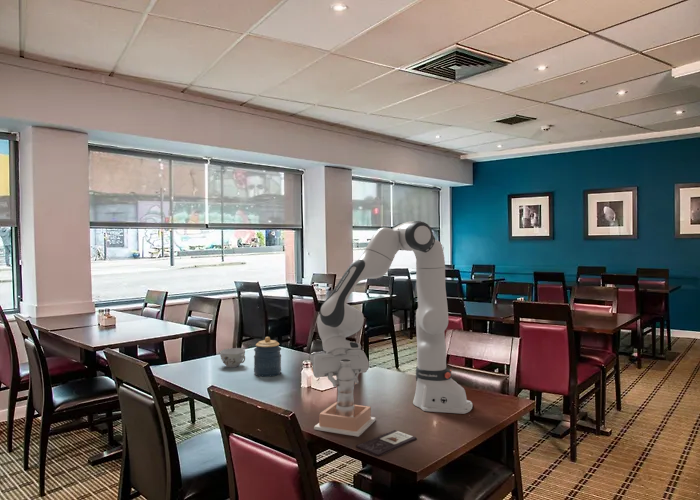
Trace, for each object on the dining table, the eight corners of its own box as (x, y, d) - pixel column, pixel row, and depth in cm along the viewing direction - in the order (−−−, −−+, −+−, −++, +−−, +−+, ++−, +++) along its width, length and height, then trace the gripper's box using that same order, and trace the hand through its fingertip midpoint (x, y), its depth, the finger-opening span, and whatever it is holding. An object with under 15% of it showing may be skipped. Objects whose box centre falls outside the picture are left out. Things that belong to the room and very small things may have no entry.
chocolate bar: (356, 445, 149) (394, 429, 162) (356, 448, 149) (394, 432, 162) (378, 454, 143) (416, 437, 155) (378, 457, 143) (416, 440, 155)
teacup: (214, 367, 247) (214, 351, 247) (233, 362, 258) (233, 346, 258) (235, 371, 239) (235, 354, 239) (253, 366, 249) (253, 350, 249)
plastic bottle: (343, 413, 173) (343, 357, 172) (358, 418, 168) (359, 360, 168) (331, 418, 168) (331, 360, 167) (347, 423, 163) (347, 363, 163)
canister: (286, 373, 234) (286, 336, 234) (263, 378, 226) (263, 340, 225) (271, 368, 244) (271, 333, 244) (248, 373, 235) (248, 336, 235)
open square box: (375, 420, 172) (375, 406, 172) (358, 436, 157) (358, 421, 157) (334, 414, 178) (334, 400, 178) (314, 429, 164) (314, 414, 164)
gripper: (310, 347, 170) (319, 383, 161) (364, 343, 178) (375, 376, 169) (306, 357, 174) (315, 392, 165) (359, 352, 182) (370, 386, 173)
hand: (346, 384), depth 167 cm, fingers closed on plastic bottle, 6 cm apart
